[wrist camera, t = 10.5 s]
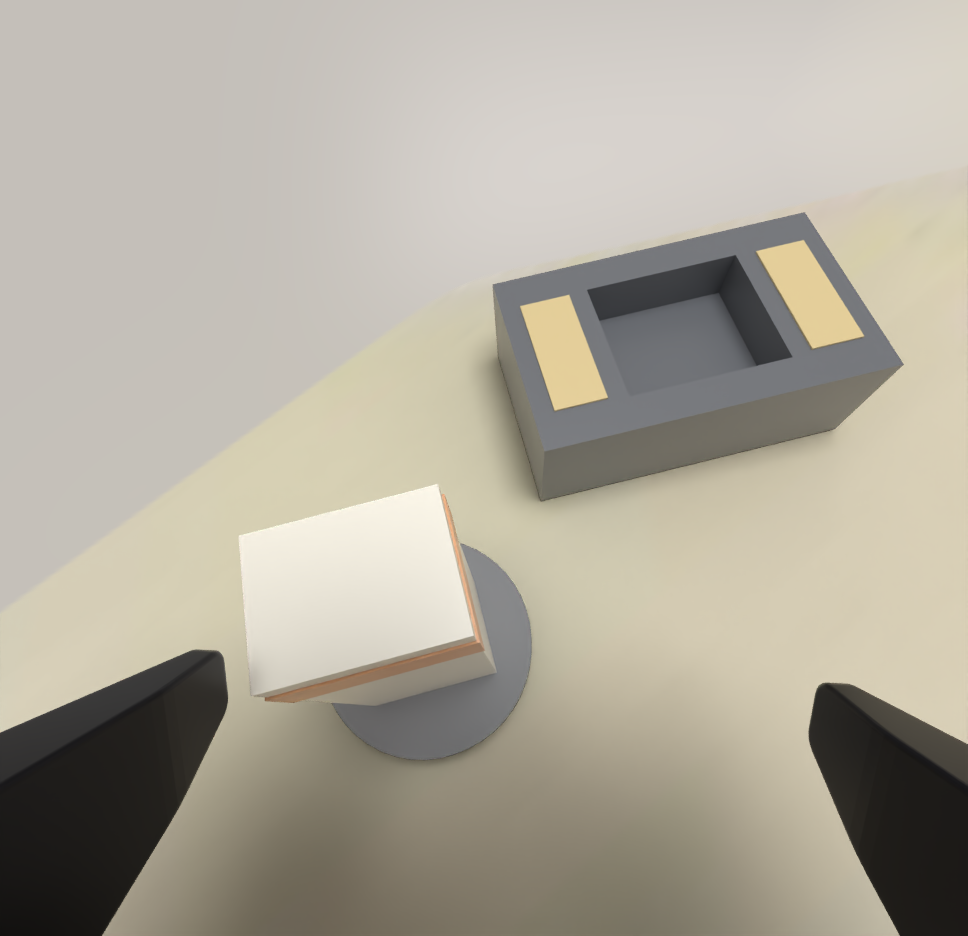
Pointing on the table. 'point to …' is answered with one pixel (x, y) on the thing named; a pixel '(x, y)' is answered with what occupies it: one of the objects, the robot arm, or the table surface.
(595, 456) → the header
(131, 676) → the robot arm
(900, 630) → the table surface
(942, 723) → the table surface
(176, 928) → the table surface
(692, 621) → the table surface
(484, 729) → the coaster
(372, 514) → the plug
